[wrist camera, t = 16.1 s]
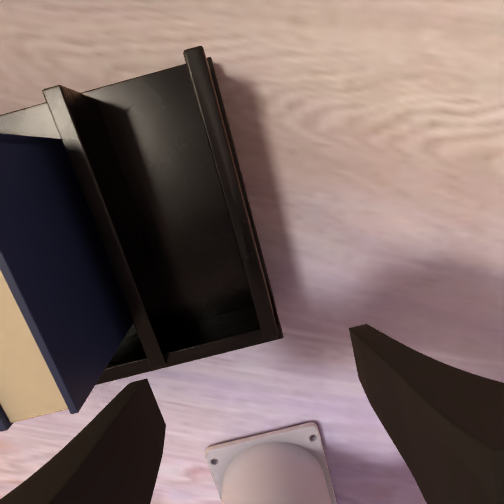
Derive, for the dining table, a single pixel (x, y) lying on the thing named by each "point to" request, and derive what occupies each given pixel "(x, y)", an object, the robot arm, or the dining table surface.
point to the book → (51, 285)
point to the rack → (165, 211)
